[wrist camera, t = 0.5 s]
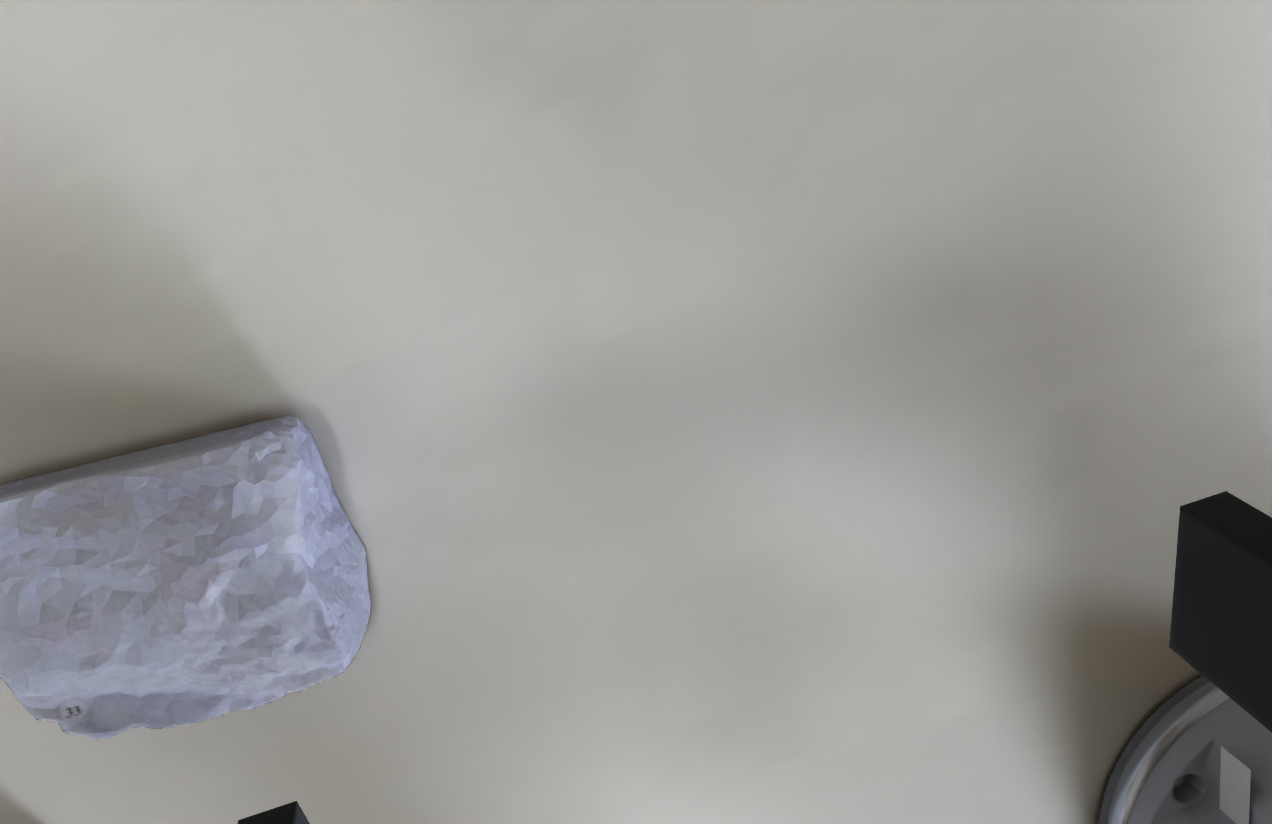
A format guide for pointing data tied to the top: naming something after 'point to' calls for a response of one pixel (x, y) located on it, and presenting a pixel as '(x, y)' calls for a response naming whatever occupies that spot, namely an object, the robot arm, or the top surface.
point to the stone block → (178, 582)
